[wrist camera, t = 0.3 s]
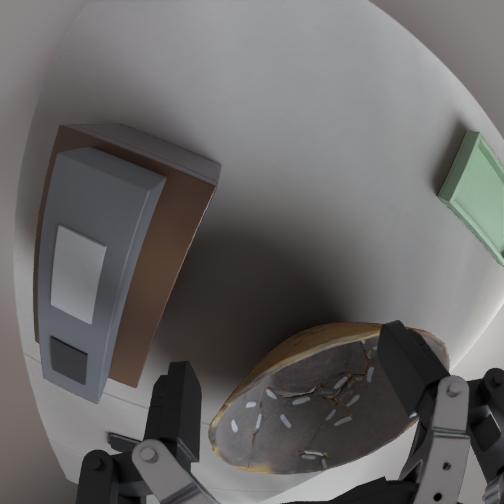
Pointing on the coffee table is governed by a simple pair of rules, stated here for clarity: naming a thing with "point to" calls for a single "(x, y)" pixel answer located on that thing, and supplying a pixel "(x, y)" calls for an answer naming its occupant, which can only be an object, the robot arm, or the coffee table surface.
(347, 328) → the bowl
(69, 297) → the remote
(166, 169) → the brown wooden open box
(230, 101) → the coffee table surface
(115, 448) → the smartphone
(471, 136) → the tray
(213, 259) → the coffee table surface
